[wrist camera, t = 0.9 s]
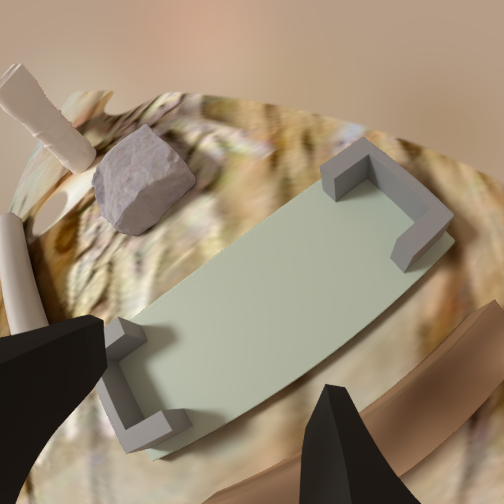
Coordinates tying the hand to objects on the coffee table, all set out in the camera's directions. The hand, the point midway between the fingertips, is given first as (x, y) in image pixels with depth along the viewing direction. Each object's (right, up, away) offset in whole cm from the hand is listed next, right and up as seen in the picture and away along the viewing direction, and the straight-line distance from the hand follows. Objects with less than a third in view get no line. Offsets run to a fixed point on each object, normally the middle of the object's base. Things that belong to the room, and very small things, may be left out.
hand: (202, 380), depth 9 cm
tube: (-28, 0, +23) cm, 36 cm away
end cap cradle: (+3, 0, +13) cm, 13 cm away
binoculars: (-26, +20, +31) cm, 45 cm away
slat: (+9, -9, +8) cm, 15 cm away
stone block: (-10, +11, +23) cm, 27 cm away
